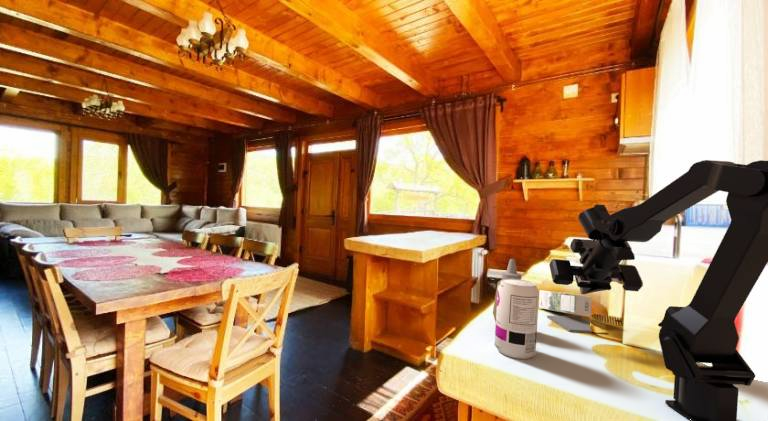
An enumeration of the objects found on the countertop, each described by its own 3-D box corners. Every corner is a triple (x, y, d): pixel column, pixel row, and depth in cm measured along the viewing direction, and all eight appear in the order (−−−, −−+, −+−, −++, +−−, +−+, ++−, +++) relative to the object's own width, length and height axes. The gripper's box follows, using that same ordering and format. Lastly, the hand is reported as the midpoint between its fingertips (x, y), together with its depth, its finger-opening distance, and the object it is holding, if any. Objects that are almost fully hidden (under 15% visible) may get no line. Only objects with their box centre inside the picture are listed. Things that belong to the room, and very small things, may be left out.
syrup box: (592, 296, 91) (553, 292, 105) (575, 293, 90) (538, 290, 104) (591, 317, 90) (553, 310, 104) (574, 314, 89) (537, 308, 103)
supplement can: (487, 350, 69) (491, 280, 69) (504, 340, 75) (508, 276, 75) (526, 364, 63) (530, 288, 63) (541, 353, 69) (545, 283, 69)
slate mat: (607, 333, 83) (607, 331, 83) (569, 331, 83) (569, 329, 83) (580, 319, 94) (580, 317, 94) (547, 317, 94) (547, 315, 94)
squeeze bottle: (485, 325, 84) (489, 257, 84) (507, 322, 88) (511, 256, 88) (509, 336, 77) (513, 262, 77) (532, 333, 81) (536, 261, 80)
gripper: (638, 232, 76) (612, 270, 87) (554, 226, 79) (538, 263, 90) (658, 271, 68) (626, 307, 79) (563, 263, 72) (545, 299, 83)
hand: (582, 292), depth 83 cm, fingers closed
